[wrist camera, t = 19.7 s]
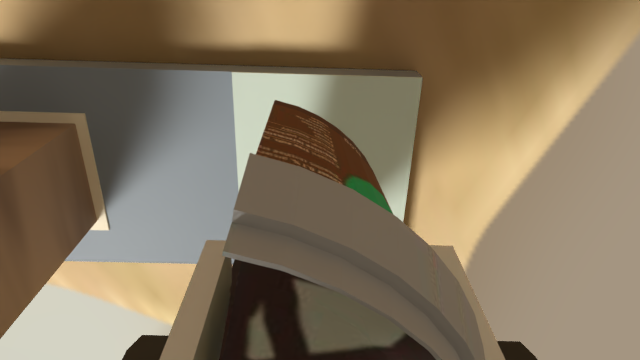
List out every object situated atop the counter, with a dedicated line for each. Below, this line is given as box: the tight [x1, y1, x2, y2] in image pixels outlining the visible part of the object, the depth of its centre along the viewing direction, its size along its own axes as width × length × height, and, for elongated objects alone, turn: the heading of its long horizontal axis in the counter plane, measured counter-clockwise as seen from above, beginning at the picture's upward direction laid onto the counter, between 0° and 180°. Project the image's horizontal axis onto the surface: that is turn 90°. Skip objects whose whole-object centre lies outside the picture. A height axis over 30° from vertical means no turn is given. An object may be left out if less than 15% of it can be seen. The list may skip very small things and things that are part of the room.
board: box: [0, 58, 423, 264], centre depth 21 cm, size 21×10×1 cm, turn 88°
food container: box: [219, 100, 485, 360], centre depth 13 cm, size 12×6×10 cm, turn 167°
